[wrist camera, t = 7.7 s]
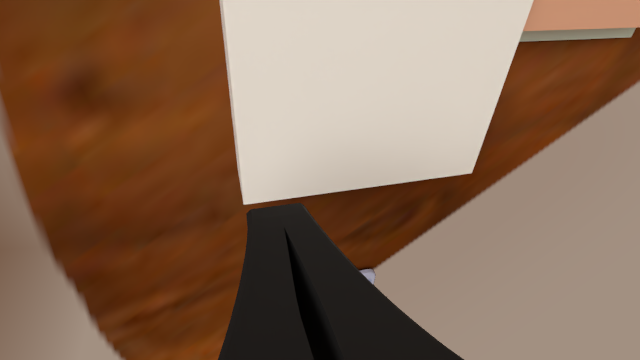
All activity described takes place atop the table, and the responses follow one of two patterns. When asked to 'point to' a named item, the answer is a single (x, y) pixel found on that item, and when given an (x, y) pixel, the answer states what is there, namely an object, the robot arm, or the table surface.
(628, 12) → the tile
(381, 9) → the white flat block
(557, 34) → the mat
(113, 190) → the table surface
